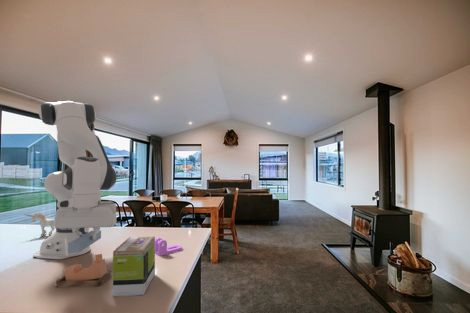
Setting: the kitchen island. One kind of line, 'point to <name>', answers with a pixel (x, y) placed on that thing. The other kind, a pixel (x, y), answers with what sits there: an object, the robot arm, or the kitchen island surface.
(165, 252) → the bracket
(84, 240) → the panel
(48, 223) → the unicorn figurine
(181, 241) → the kitchen island surface
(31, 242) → the kitchen island surface
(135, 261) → the tea box
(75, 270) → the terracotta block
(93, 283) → the cradle
